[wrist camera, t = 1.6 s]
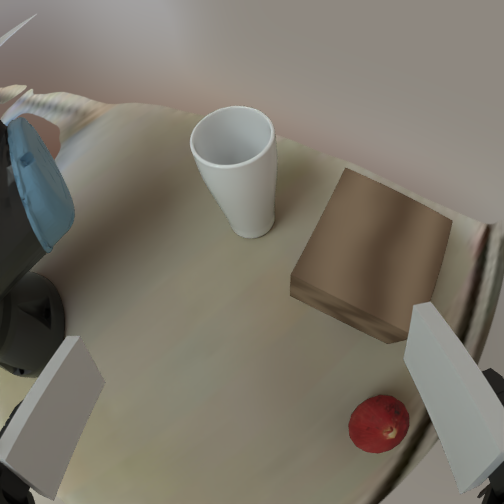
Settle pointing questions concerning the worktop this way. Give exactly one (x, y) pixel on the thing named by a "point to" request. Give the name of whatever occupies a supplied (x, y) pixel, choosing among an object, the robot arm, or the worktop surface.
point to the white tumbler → (239, 166)
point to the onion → (379, 424)
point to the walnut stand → (371, 258)
